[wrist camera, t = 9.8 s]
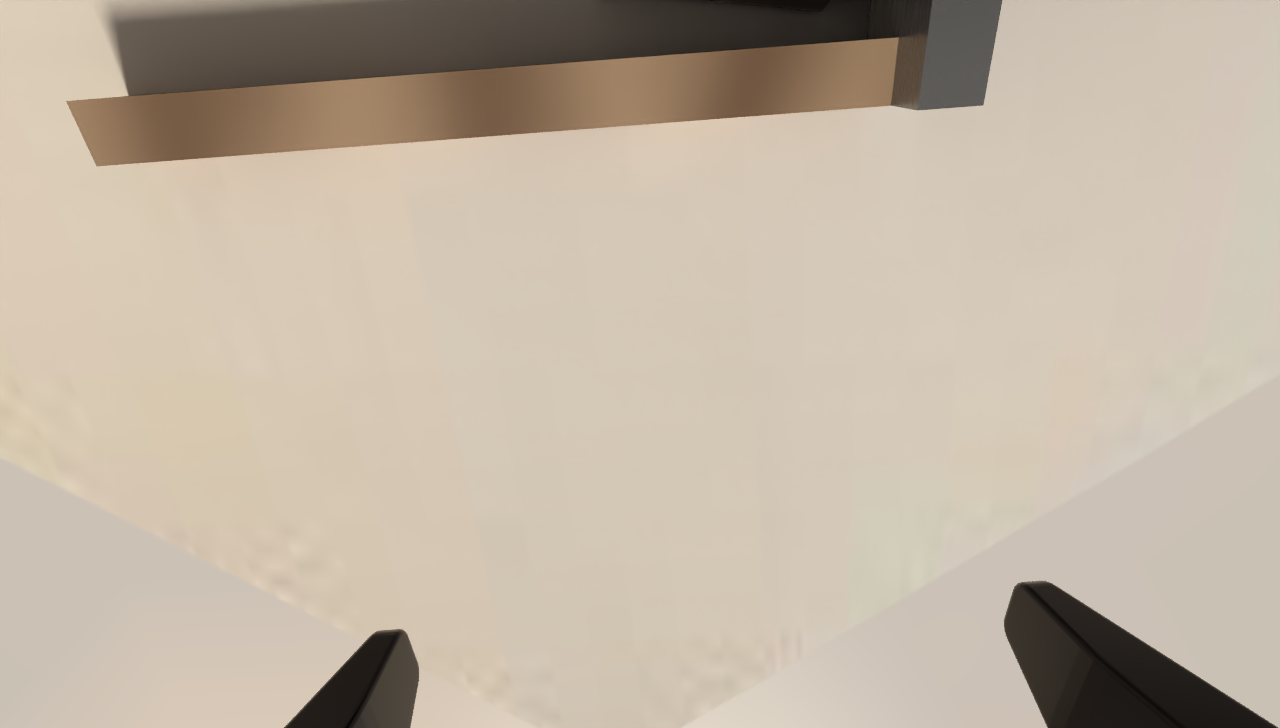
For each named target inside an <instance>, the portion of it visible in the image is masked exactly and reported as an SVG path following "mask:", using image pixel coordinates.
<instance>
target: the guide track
mask: <svg viewBox="0 0 1280 728" xmlns="http://www.w3.org/2000/svg"><path fill="white" fill-rule="evenodd" d="M898 40H899V37H897V38H882V39H867V40H854V41H841V42H828V43H815V44H802V45H789V46H776V47H763V48H750V49H737V50H724V51H711V52H698V53H685V54H672V55H659V56H646V57H633V58H620V59H607V60H594V61H581V62H568V63H555V64H542V65H529V66H516V67H503V68H490V69H477V70H464V71H451V72H438V73H425V74H412V75H398V76H385V77H372V78H359V79H346V80H333V81H320V82H307V83H294V84H281V85H268V86H255V87H242V88H229V89H216V90H203V91H190V92H177V93H164V94H151V95H138V96H125V97H113V98H101V99H88V100H76V101H66V102H67V104H68V106H69V108H70V110H71V112H72V115H73V117H74V119H75V121H76V123H77V125H78V127H79V129H80V132H81V134H82V136H83V138H84V140H85V142H86V144H87V147H88V149H89V151H90V153H91V155H92V157H93V159H94V161H95V164H96V166H106V165H119V164H132V163H145V162H159V161H172V160H185V159H198V158H211V157H224V156H237V155H250V154H263V153H276V152H289V151H302V150H315V149H328V148H341V147H355V146H368V145H381V144H394V143H407V142H420V141H433V140H446V139H459V138H472V137H485V136H498V135H511V134H524V133H537V132H551V131H564V130H577V129H590V128H603V127H616V126H629V125H642V124H655V123H668V122H681V121H694V120H707V119H720V118H733V117H746V116H760V115H773V114H786V113H799V112H812V111H825V110H838V109H851V108H864V107H877V106H890V105H891V100H892V91H893V83H894V74H895V66H896V57H897V48H898Z"/></svg>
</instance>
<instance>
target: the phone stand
mask: <svg viewBox="0 0 1280 728" xmlns="http://www.w3.org/2000/svg"><path fill="white" fill-rule="evenodd" d="M711 1H721V2H731V3H741V4H751V5H761V6H772V7H782V8H792V9H802V10H812V11H823V10H824V8H825V7H826V6H827V5H828V3H829V2H830V1H831V0H711Z"/></svg>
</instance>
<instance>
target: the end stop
mask: <svg viewBox="0 0 1280 728" xmlns="http://www.w3.org/2000/svg"><path fill="white" fill-rule="evenodd" d="M1001 4H1002V0H871V9H870V20H869V30H868V39H882V38H897V37H899V40H898V48H897V57H896V66H895V74H894V83H893V91H892V100H891V106H897V107H902V108H908V109H913V110H928V109H941V108H954V107H967V106H980V105H983V104H984V98H985V93H986V87H987V82H988V76H989V71H990V65H991V60H992V54H993V48H994V43H995V37H996V32H997V26H998V21H999V15H1000V10H1001Z"/></svg>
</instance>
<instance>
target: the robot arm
mask: <svg viewBox="0 0 1280 728" xmlns="http://www.w3.org/2000/svg"><path fill="white" fill-rule="evenodd" d="M1004 627H1005V632H1006V636H1007V639H1008V641H1009V643H1010V645H1011V648H1012V650H1013V652H1014V654H1015V657H1016V659H1017V661H1018V663H1019V665H1020V668H1021V670H1022V672H1023V674H1024V676H1025V679H1026V681H1027V683H1028V685H1029V687H1030V690H1031V692H1032V694H1033V696H1034V699H1035V701H1036V703H1037V705H1038V707H1039V709H1040V712H1041V714H1042V716H1043V718H1044V720H1045V723H1046V725H1047V727H1048V728H1278V727H1276V726H1275V725H1273V724H1272V723H1269V722H1268V721H1267V720H1265V719H1264V718H1262V717H1260V716H1259V715H1257V714H1256V713H1254V712H1253V711H1251V710H1249V709H1248V708H1246V707H1245V706H1243V705H1242V704H1240V703H1239V702H1237V701H1236V700H1234V699H1232V698H1231V697H1229V696H1228V695H1226V694H1225V693H1223V692H1221V691H1220V690H1218V689H1217V688H1215V687H1213V686H1212V685H1210V684H1209V683H1207V682H1206V681H1204V680H1203V679H1201V678H1199V677H1198V676H1196V675H1195V674H1193V673H1192V672H1190V671H1189V670H1187V669H1185V668H1184V667H1182V666H1181V665H1179V664H1178V663H1176V662H1174V661H1173V660H1171V659H1170V658H1168V657H1166V656H1165V655H1163V654H1162V653H1160V652H1159V651H1157V650H1156V649H1154V648H1152V647H1151V646H1149V645H1148V644H1146V643H1145V642H1143V641H1141V640H1140V639H1138V638H1137V637H1135V636H1134V635H1132V634H1130V633H1129V632H1127V631H1126V630H1124V629H1123V628H1121V627H1119V626H1118V625H1116V624H1115V623H1113V622H1112V621H1110V620H1109V619H1107V618H1105V617H1104V616H1102V615H1101V614H1099V613H1098V612H1096V611H1094V610H1093V609H1091V608H1090V607H1088V606H1087V605H1085V604H1083V603H1082V602H1080V601H1079V600H1077V599H1075V598H1074V597H1072V596H1071V595H1069V594H1068V593H1066V592H1065V591H1063V590H1061V589H1060V588H1058V587H1057V586H1055V585H1053V584H1052V583H1049V582H1046V581H1032V582H1021V583H1018V584H1017V585H1016V586H1015V587H1014V590H1013V593H1012V596H1011V599H1010V602H1009V605H1008V609H1007V612H1006V615H1005V619H1004ZM418 681H419V667H418V662H417V660H416V657H415V654H414V651H413V649H412V646H411V643H410V641H409V638H408V635H407V633H406V632H405V631H404V630H402V629H395V630H382V631H377V632H375V633H374V634H372V635H371V636H370V637H369V638H368V639H367V640H366V641H365V642H364V643H363V644H362V646H361V647H360V648H359V649H358V650H357V651H356V652H355V653H354V654H353V655H352V656H351V657H350V658H349V660H347V661H346V663H345V664H344V665H343V666H342V667H341V668H340V669H339V670H338V671H337V672H336V673H335V674H334V675H333V676H332V677H331V679H330V680H329V681H328V682H327V683H326V684H325V685H324V686H323V687H322V688H321V689H320V690H319V691H318V692H317V693H316V695H315V696H314V697H313V698H312V699H311V700H310V701H309V702H308V703H307V704H306V705H305V706H304V707H303V708H302V709H301V710H300V712H299V713H298V714H297V715H296V716H295V717H294V718H293V719H292V720H291V721H290V722H289V723H288V725H286V726H285V727H284V728H410V726H411V720H412V715H413V709H414V703H415V698H416V693H417V687H418Z"/></svg>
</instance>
